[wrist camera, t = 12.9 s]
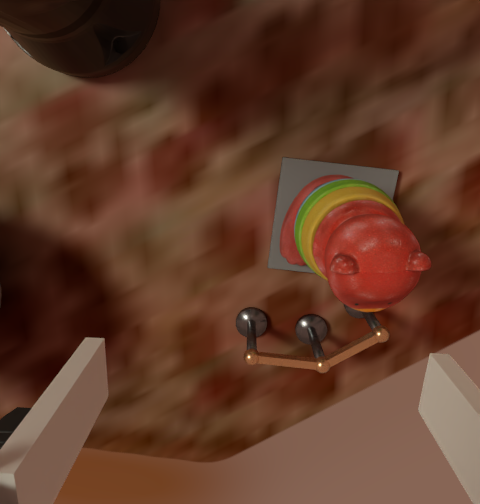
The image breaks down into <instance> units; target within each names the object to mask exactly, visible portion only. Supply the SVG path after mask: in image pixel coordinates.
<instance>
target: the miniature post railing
mask: <svg viewBox="0 0 480 504" xmlns="http://www.w3.org/2000/svg"><path fill="white" fill-rule="evenodd" d="M344 307H345V309H346V311H347V312H348V313H349V314H350V315H351V316H353V317H355V318H365V319H366V321H367V323H368V324H369V326H370V327H371V329H372V332H370V333H369V334H367V335H365V336H363V337H361V338H359V339H357V340H355V341H353V342H352V343H350V344H348V345H346V346H344V347H342V348H340V349H338V350H336V351H334V352H333V353H331V354H329V355H327V356H324V353H323V350H322V347H321V344H320V342H321V341H322V340H323V339H324V338H325V336H326V334H327V326H326V323H325V321H324V320H323V319H322V318H321V317H320V316H318V315H315V314H308V315H305V316H303V317H301V318H300V319H299V320H298V321H297V323H296V327H295V330H296V335H297V337H298V339H299V340H300V341H302V342H303V343H305V344H311V346H312V350H313V353H314V356H315V358H310V357H301V356H292V355H283V354H274V353H265V352H258V351H257V346H256V337H258V336H260V335H262V334H263V333H264V331H265V330H266V327H267V319H266V316H265V314H264V313H263V312H262V311H261V310H260V309H257V308H254V307H249V308H245V309H243V310H242V311H241V312H240V313H239V314H238V316H237V318H236V327H237V330H238V331H239V333H240V334H242V335H243V336H245V337H247V350H246V352H245V353H244V360H245V362H246V363H247V364H249V365H255V364H257V363H260V364H269V365H278V366H287V367H296V368H305V369H314V370H317V371H318V372H320V373H325V372H327V371H328V370H329V369H330V367H331V366H333V365H335V364H337V363H339V362H341V361H343V360H345V359H347V358H349V357H351V356H353V355H354V354H356V353H358V352H360V351H362V350H364V349H366V348H368V347H370V346H372V345H374V344H376V343H377V342H385V341H387V340H388V339H389V336H390V333H389V330H388V329H387V328H386V327H384V326H381V324H380V323H379V321H378V320H377V318H376V317H375V315H374V314H373V312H362V311H358V310H355V309H353V308H350V307H348V306H347V305H345V304H344Z"/></svg>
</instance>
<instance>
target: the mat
mask: <svg viewBox="0 0 480 504" xmlns="http://www.w3.org/2000/svg"><path fill="white" fill-rule="evenodd" d="M398 173H399V171H397V170H389V169H381V168H372V167H363V166H355V165H346V164H337V163H329V162H320V161H311V160H303V159H294V158H285V157H283V158H282V166H281V173H280V180H279V187H278V195H277V202H276V209H275V217H274V224H273V231H272V238H271V246H270V253H269V260H268V268H274V269H283V270H292V271H301V272H309V273H315V272H314V271H312V270H311V269H310V268H309V267H308V265H303V266H299V265H298V264H295V265H292V264H289V263H288V262H287V259H286V258H284V257H283V256H282V255H281V253H280V233H281V228H282V224H283V221H284V218H285V215H286V213H287V211H288V209H289V207H290V205H291V203H292V202H293V200H294V199H295V197H296V196H297V195H298V193H299V192H300V191H301V190H302V189H303V188H304V187H305V186H306V185H307V184H309V183H310V182H312V181H313V180H315V179H317V178H320V177H323V176H327V175H344V176H348V177H351V178H354V179H359V180H363V181H366V182H368V183H371V184H373V185H375V186H377V187H378V188H380V189H381V190H383V191H384V192H385V193H386V194H387V195H388V196H389V197H390V198H391V199H392V201H393V196H394V192H395V187H396V182H397V178H398Z"/></svg>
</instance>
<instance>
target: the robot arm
mask: <svg viewBox="0 0 480 504" xmlns="http://www.w3.org/2000/svg"><path fill="white" fill-rule="evenodd" d="M159 8H160V0H0V26H1V27H4V29H5V30H6V32H7V33H8V34H9V36H10V37H11V38H12V40H13V41H14V42H15V43H16V44H17V45H18V46H19V47H20V48H21V49H22V50H23V51H24V52H25V53H26V54H28V55H29V56H30V57H32V58H33V59H35V60H36V61H37V62H39V63H41V64H42V65H44V66H46V67H48V68H51V69H53V70H56V71H59V72H62V73H65V74H68V75H72V76H77V77H100V76H105V75H108V74H111V73H114V72H116V71H118V70H120V69H122V68H124V67H125V66H127V65H128V64H129V63H131V62H132V61H133V60H134V59H135V58H136V57H137V56H138V55H139V54H140V53H141V52H142V50H143V49H144V48H145V46H146V45H147V43H148V42H149V40H150V38H151V36H152V34H153V31H154V29H155V26H156V23H157V19H158V14H159ZM107 398H108V381H107V367H106V352H105V338H88V337H86V338H85V339H84V340H83V342H82V343H81V344H80V345H79V347H78V348H77V349H76V351H75V352H74V353H73V355H72V356H71V357H70V359H69V360H68V361H67V363H66V364H65V365H64V366H63V368H62V369H61V370H60V372H59V373H58V374H57V376H56V377H55V378H54V380H53V381H52V382H51V384H50V385H49V386H48V387H47V389H46V390H45V391H44V393H43V394H42V395H41V397H40V398H39V399H38V401H37V402H36V403H35V405H34V406H33V407H32V408H20V407H17V408H16V409H14V410H13V411H11V412H10V413H8V414H7V415H6V416H4V417H3V418H2V419H1V420H0V504H53V503H54V501H55V499H56V497H57V495H58V493H59V491H60V489H61V487H62V485H63V483H64V481H65V479H66V477H67V476H68V474H69V472H70V470H71V467H72V466H73V464H74V462H75V460H76V458H77V456H78V454H79V452H80V450H81V448H82V446H83V444H84V443H85V441H86V439H87V437H88V435H89V433H90V431H91V429H92V427H93V425H94V423H95V421H96V419H97V417H98V415H99V413H100V411H101V409H102V408H103V406H104V404H105V402H106V400H107ZM418 411H419V413H420V414H421V416H422V418H423V420H424V421H425V423H426V425H427V426H428V428H429V430H430V431H431V433H432V435H433V437H434V438H435V440H436V442H437V443H438V445H439V447H440V448H441V450H442V452H443V454H444V455H445V457H446V459H447V460H448V462H449V464H450V465H451V467H452V469H453V470H454V472H455V474H456V475H457V477H458V479H459V480H460V482H461V484H462V486H463V487H464V489H465V491H466V492H467V494H468V496H469V498H470V499H471V501H472V503H473V504H480V389H479V388H478V387H477V386H476V385H475V384H474V382H473V381H472V380H471V379H470V378H469V377H468V375H467V374H466V373H465V372H464V371H463V370H462V369H461V367H460V366H459V365H458V364H457V363H456V362H455V360H454V359H453V358H452V357H451V356H450V355H449V354H436V353H430V355H429V360H428V365H427V370H426V374H425V379H424V384H423V389H422V394H421V398H420V403H419V408H418Z"/></svg>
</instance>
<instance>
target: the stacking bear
mask: <svg viewBox="0 0 480 504" xmlns="http://www.w3.org/2000/svg"><path fill="white" fill-rule="evenodd" d="M280 253H281V255H282V256H283V257H284V258H286V259H287V262H288V263H289V264H292V265H295V264H298V265H299V266H303V265H308V267H309V268H310V269H311V270H312V271H314V272H315V273H316V274H317V275H319V276H320V277H322V278H324V279H325V280H327V281H328V282H329V285H330V287H331V290H332V291H333V293H334V294H335V296H336V297H337V298H338V299H339V300H340V301H341V302H342V303H344V304H345V305H347V306H348V307H350V308H353V309H355V310H358V311H362V312H376V311H381V310H383V309H386V308H388V307H391V306H393V305H395V304H396V303H398V302H400V301H401V300H402V299H404V298H405V297H406V296H407V295H408V294H409V293H410V292H411V291H412V290H413V289H414V288H415V286H416V285H417V283H418V281H419V278H420V275H421V271H425V270H428V269H430V268H431V261H430V258H429V257H428V256H427V255H426V254H425V253H422V252H421V249H420V245H419V243H418V241H417V239H416V237H415V236H414V234H413V233H412V232H411V230H410V229H409V228H408V227H406V226H405V225H404V222H403V219H402V217H401V214H400V212H399V210H398V208H397V206H396V205H395V203H394V202H393V201H392V199H391V198H390V197H389V196H388V195H387V194H386V193H385V192H384V191H383V190H381V189H380V188H378V187H377V186H375V185H373V184H371V183H368V182H366V181H363V180H359V179H354V178H351V177H348V176H344V175H327V176H323V177H320V178H317V179H315V180H313V181H312V182H310V183H309V184H307V185H306V186H305V187H304V188H303V189H302V190H301V191H300V192H299V193H298V195H297V196H296V197H295V199H294V200H293V202H292V203H291V205H290V207H289V209H288V211H287V213H286V215H285V218H284V221H283V224H282V228H281V233H280Z"/></svg>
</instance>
